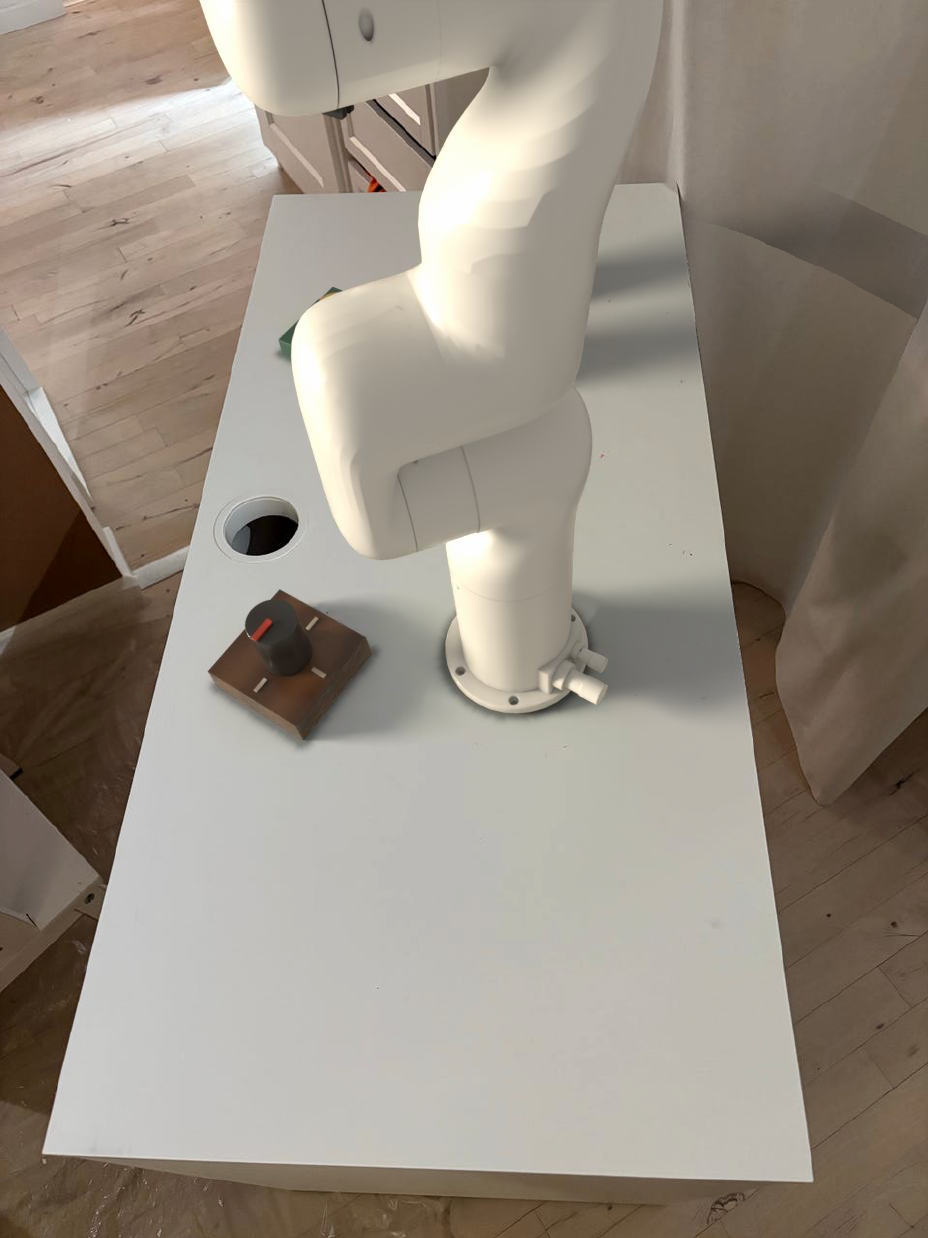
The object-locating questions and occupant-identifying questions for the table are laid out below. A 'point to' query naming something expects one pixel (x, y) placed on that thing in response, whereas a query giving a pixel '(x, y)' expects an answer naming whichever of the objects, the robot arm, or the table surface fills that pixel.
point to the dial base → (304, 692)
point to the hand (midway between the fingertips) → (335, 111)
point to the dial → (278, 637)
